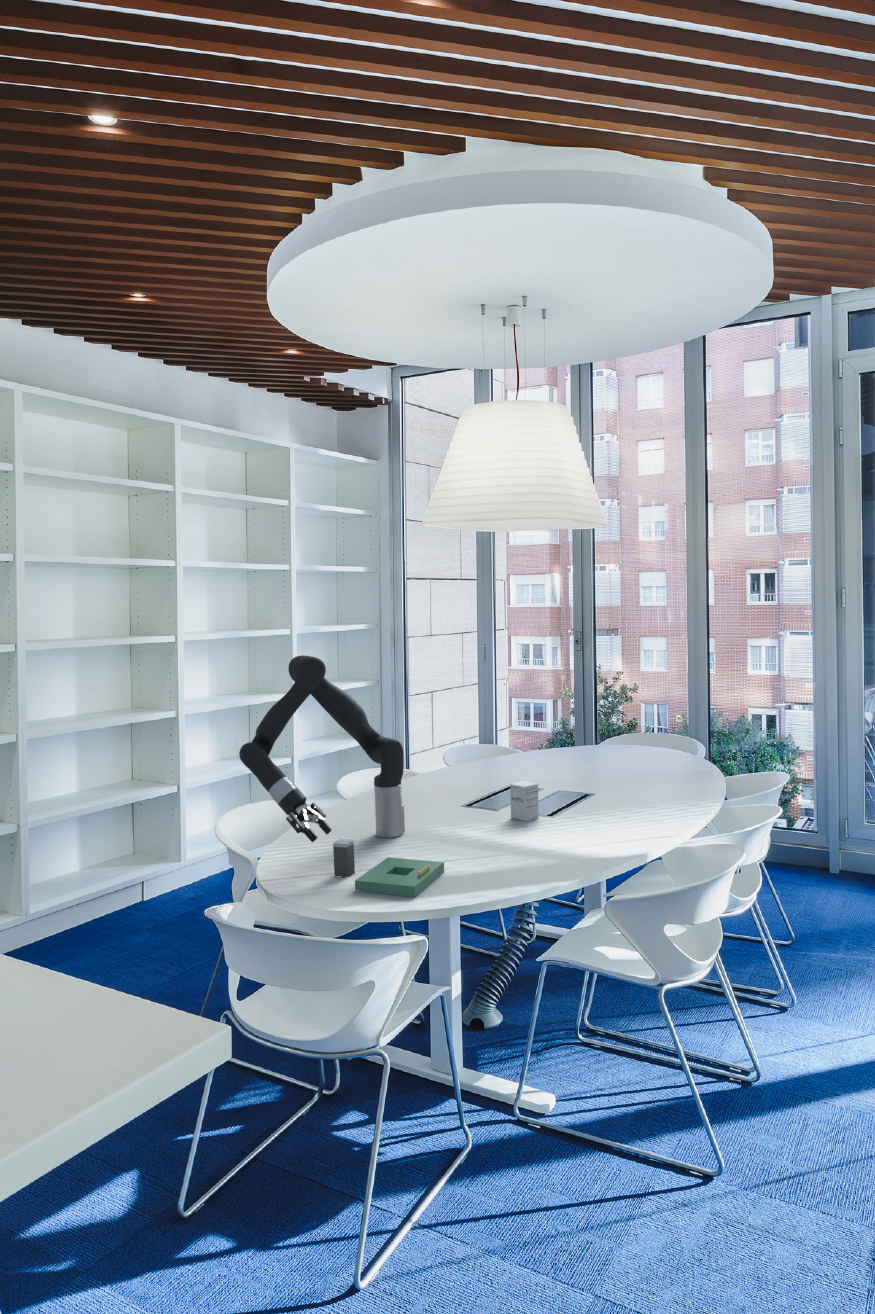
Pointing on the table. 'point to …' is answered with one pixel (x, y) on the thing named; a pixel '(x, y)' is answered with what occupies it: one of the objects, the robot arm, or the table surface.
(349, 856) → the black plug
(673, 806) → the table surface
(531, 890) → the table surface
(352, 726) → the robot arm
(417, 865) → the socket board
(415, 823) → the table surface
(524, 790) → the supplement box
